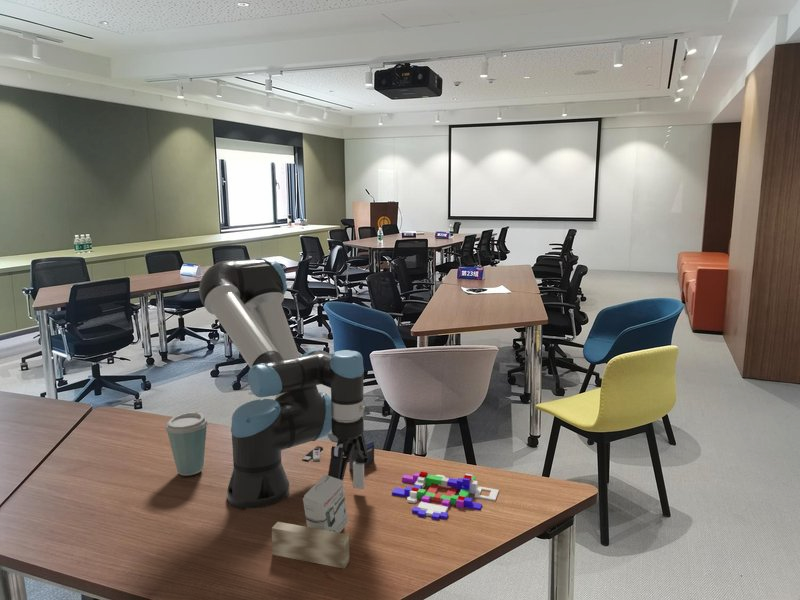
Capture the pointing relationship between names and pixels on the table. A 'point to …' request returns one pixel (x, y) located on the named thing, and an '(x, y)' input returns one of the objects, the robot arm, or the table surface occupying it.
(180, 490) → the table surface
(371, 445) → the mini dv tape
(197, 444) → the disposable coffee cup
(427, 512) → the building block set
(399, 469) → the table surface
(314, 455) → the usb flash drive
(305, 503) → the ink box
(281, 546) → the board
